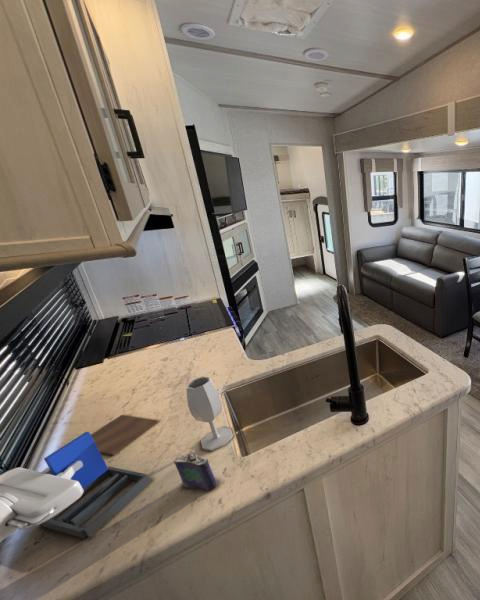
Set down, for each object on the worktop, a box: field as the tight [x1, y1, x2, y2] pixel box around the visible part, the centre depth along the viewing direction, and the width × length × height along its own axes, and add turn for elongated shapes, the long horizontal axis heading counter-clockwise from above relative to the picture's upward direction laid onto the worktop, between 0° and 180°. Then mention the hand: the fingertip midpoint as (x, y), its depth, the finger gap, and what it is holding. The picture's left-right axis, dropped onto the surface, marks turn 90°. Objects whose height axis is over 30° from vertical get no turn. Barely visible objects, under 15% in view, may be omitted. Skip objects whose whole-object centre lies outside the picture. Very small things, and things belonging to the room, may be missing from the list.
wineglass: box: [185, 376, 234, 452], centre depth 91 cm, size 9×9×21 cm
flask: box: [173, 450, 218, 492], centre depth 78 cm, size 9×3×11 cm, turn 79°
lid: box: [43, 431, 109, 489], centre depth 72 cm, size 1×8×12 cm, turn 167°
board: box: [91, 414, 158, 456], centre depth 99 cm, size 16×14×1 cm
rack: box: [41, 466, 151, 540], centre depth 76 cm, size 15×15×2 cm
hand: (76, 461), depth 72 cm, fingers closed on lid, 1 cm apart
